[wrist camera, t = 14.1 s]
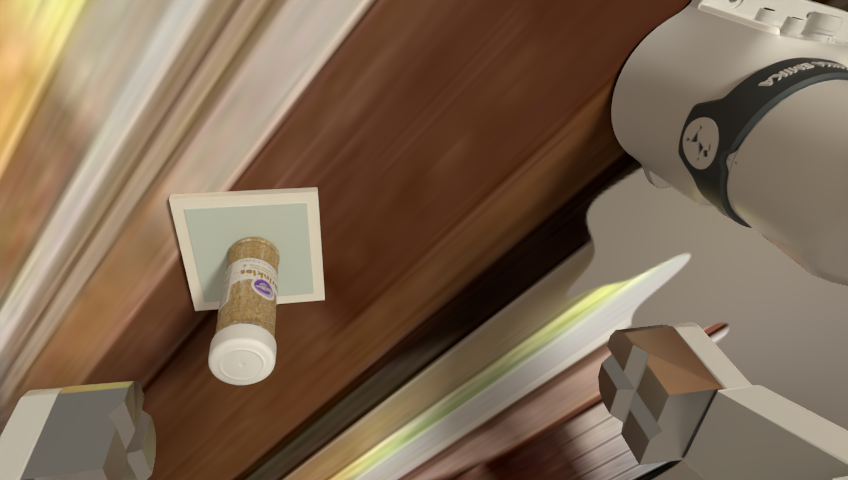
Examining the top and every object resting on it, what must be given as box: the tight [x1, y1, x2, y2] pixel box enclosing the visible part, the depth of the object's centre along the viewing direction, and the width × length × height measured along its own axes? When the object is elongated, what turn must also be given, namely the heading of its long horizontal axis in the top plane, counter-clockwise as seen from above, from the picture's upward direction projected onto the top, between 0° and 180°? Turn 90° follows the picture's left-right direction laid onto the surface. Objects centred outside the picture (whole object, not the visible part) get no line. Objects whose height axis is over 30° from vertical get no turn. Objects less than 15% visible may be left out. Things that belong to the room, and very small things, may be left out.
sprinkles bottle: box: [208, 237, 280, 385], centre depth 45 cm, size 5×5×13 cm
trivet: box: [169, 187, 325, 311], centre depth 50 cm, size 12×12×1 cm
